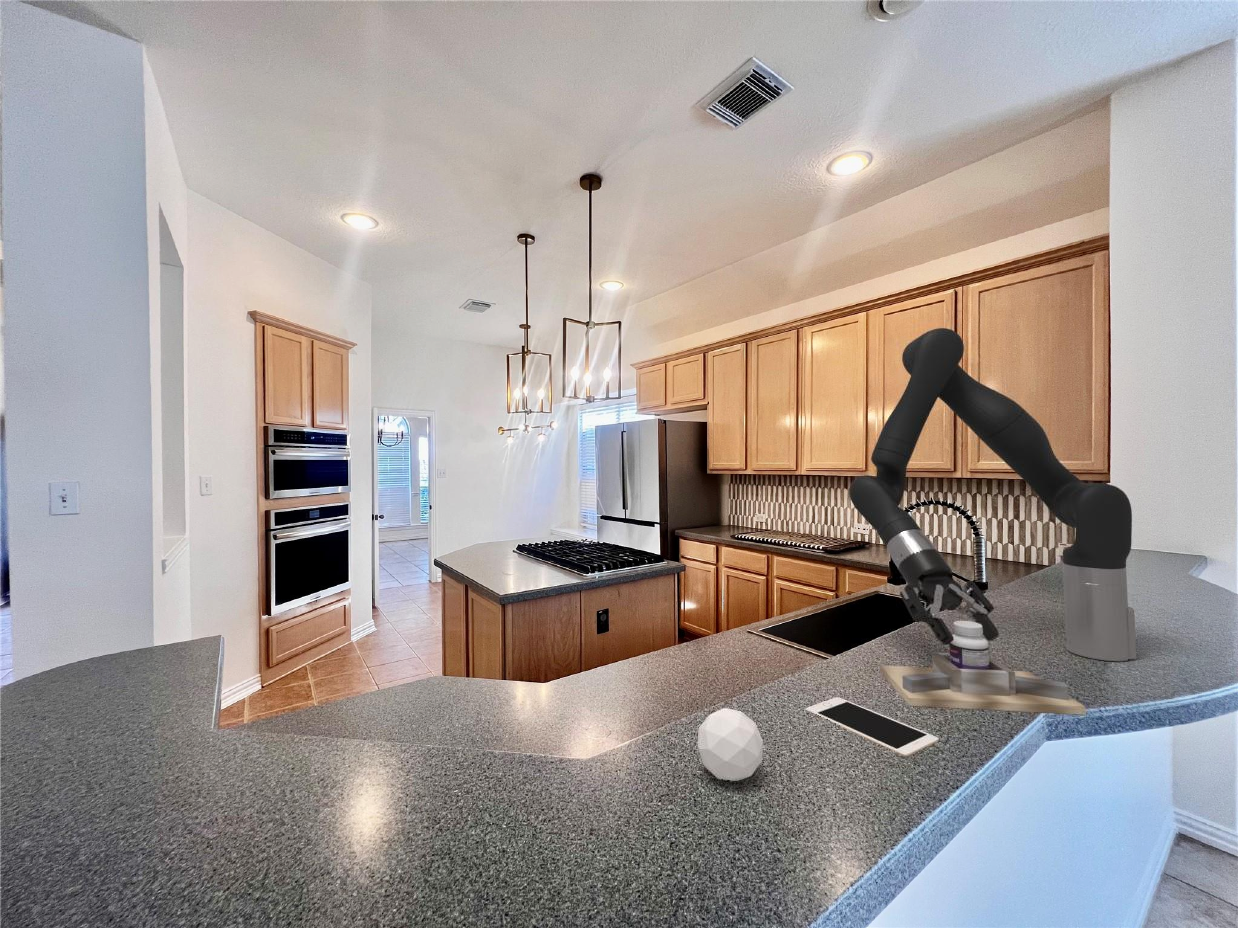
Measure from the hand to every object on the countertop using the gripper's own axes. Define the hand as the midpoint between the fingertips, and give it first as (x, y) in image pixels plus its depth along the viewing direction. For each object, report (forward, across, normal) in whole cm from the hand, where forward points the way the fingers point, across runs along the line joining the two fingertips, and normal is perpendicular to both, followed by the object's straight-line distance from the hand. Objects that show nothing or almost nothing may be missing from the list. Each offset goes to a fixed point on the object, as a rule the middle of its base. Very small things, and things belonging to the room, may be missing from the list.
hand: (971, 640), depth 86 cm
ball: (+16, -48, -4) cm, 51 cm away
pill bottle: (+5, 0, +6) cm, 7 cm away
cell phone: (+11, -24, +2) cm, 26 cm away
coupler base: (+6, 0, +6) cm, 8 cm away
